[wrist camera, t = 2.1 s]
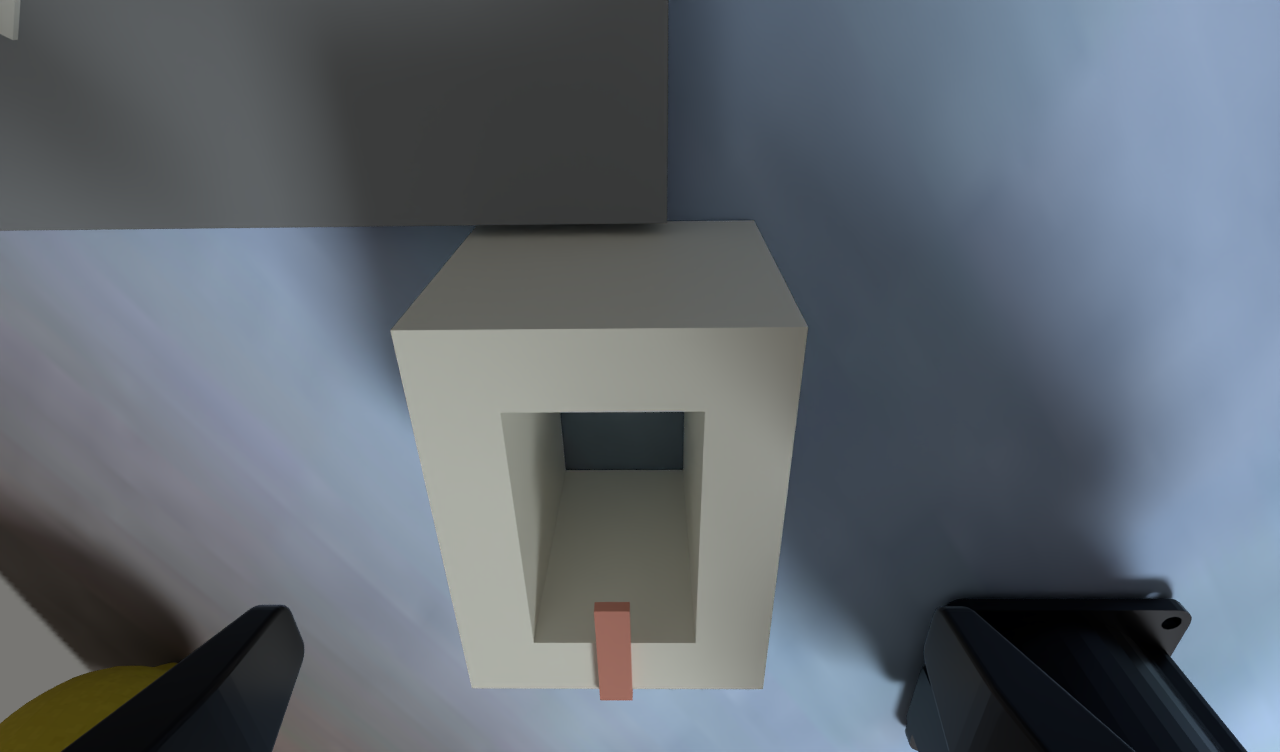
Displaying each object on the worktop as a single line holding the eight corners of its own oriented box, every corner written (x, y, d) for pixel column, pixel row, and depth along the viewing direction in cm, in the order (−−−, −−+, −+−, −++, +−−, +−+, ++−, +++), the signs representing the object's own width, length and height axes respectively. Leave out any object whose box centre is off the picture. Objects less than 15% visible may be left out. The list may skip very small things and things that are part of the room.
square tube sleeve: (754, 220, 13) (811, 333, 8) (733, 511, 16) (764, 700, 12) (478, 223, 13) (384, 337, 8) (519, 512, 17) (469, 699, 12)
